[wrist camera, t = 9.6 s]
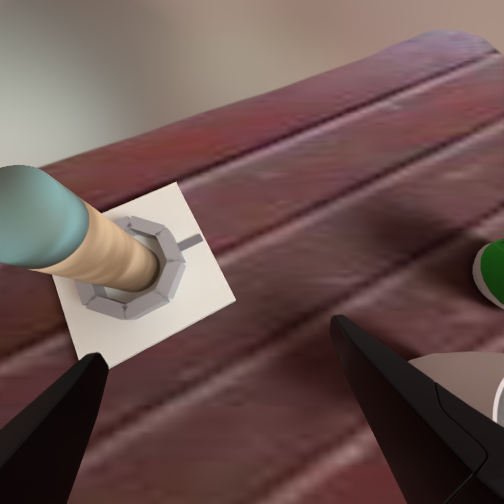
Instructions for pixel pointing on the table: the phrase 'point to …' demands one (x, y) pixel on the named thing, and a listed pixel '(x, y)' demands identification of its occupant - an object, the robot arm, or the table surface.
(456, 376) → the cup
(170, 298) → the hub plate
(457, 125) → the table surface
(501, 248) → the soda can
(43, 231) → the teal capped wooden cylinder
